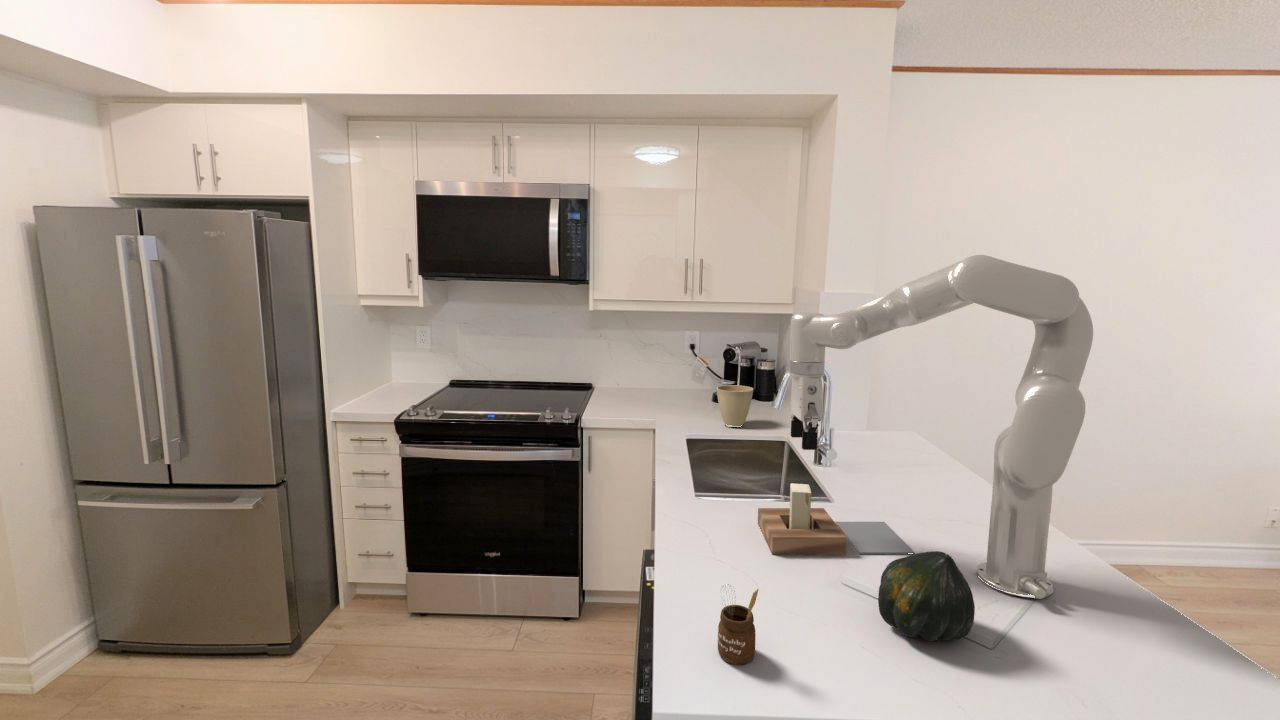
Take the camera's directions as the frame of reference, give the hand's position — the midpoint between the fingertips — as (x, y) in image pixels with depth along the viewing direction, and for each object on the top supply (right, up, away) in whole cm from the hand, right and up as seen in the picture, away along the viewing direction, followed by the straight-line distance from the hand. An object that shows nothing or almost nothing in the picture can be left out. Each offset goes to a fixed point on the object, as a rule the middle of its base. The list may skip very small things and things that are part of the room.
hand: (803, 443), depth 129 cm
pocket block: (0, -23, +3) cm, 23 cm away
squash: (+12, -27, -31) cm, 43 cm away
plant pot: (+2, -9, +106) cm, 106 cm away
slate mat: (+17, -22, +3) cm, 28 cm away
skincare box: (0, -23, +3) cm, 23 cm away
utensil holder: (-21, -28, -38) cm, 52 cm away
